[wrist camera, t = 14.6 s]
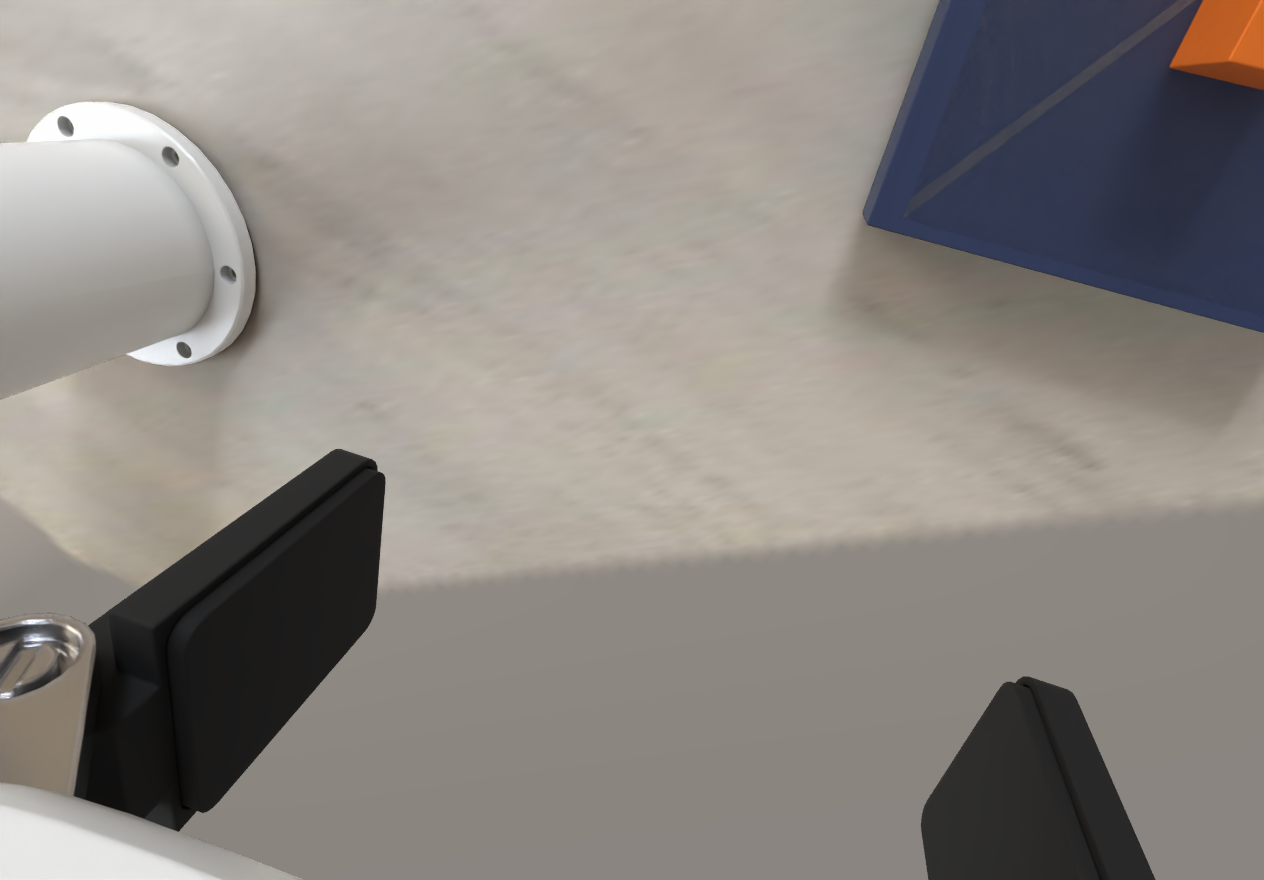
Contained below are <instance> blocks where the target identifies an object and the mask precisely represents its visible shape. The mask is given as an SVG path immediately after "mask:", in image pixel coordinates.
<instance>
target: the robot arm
mask: <svg viewBox="0 0 1264 880" xmlns="http://www.w3.org/2000/svg"><path fill="white" fill-rule="evenodd" d="M255 281H256V268H255V261H254V254H253V247H252V243H251V240H250V236H249V233H248V230H247V227H246V223H245V220H244V218H243V216H242V213H241V211H240V209H239V207H238V205H237V203H236V201H235V198H234V196H233V194H232V192H231V191H230V189H229V188H228V186H227V185H226V183H225V182H224V180H223V179H222V177H221V175H220V174H219V172H218V171H217V169H216V168H215V167H214V166H213V165H212V164H211V162H210V161H209V160H208V159H207V158H206V157H205V155H204V154H203V153H202V152H201V151H200V150H199V148H198V147H197V146H195V145H194V144H193V143H192V142H191V141H190V140H189V139H187V138H186V137H185V136H184V135H183V134H182V133H181V132H179V131H178V130H177V129H176V128H174V127H173V126H171V125H169V124H168V123H166V122H165V121H163V120H161V119H160V118H158V117H157V116H155V115H153V114H151V113H148V112H146V111H143V110H141V109H138V108H135V107H133V106H130V105H124V104H118V103H112V102H79V103H75V104H70V105H66V106H62V107H60V108H58V109H57V110H55V111H53V112H51V113H50V114H48V115H46V116H45V117H44V118H43V119H42V120H41V121H40V122H39V123H38V124H37V125H36V126H35V127H34V129H33V130H32V131H31V133H30V135H29V137H28V139H27V141H26V142H21V143H0V400H1V399H4V398H7V397H10V396H12V395H15V394H18V393H21V392H23V391H26V390H29V389H32V388H34V387H37V386H40V385H43V384H45V383H48V382H51V381H54V380H56V379H59V378H62V377H65V376H67V375H70V374H73V373H76V372H78V371H81V370H84V369H87V368H89V367H92V366H95V365H98V364H100V363H103V362H106V361H109V360H111V359H114V358H117V357H120V356H122V355H128V356H130V357H132V358H135V359H137V360H139V361H142V362H147V363H151V364H155V365H160V366H184V365H188V364H193V363H198V362H200V361H202V360H205V359H207V358H209V357H212V356H214V355H217V354H218V353H220V352H221V351H222V350H224V349H225V348H227V347H228V346H230V345H231V344H232V343H233V342H234V340H235V339H236V338H237V337H238V336H239V334H240V333H241V332H242V331H243V329H244V326H245V324H246V322H247V320H248V318H249V316H250V314H251V310H252V305H253V301H254V296H255ZM384 495H385V476H384V474H383V473H381V472H378V471H377V465H376V462H375V461H374V460H372V459H369V458H366V457H363V456H360V455H357V454H354V453H351V452H348V451H345V450H342V449H335V450H333V451H331V452H330V453H329V454H327V455H326V456H324V457H323V458H322V459H320V460H319V461H317V462H316V463H315V464H313V465H312V466H310V467H309V468H308V469H306V470H305V471H303V472H302V473H301V474H299V475H298V476H296V477H295V478H294V479H292V480H291V481H289V482H288V483H287V484H285V485H284V486H282V487H281V488H280V489H278V490H277V491H275V492H274V493H273V494H271V495H270V496H268V497H267V498H266V499H264V500H263V501H261V502H260V503H259V504H257V505H256V506H254V507H253V508H252V509H250V510H249V511H247V512H246V513H245V514H243V515H242V516H240V517H239V518H238V519H236V520H235V521H233V522H232V523H231V524H229V525H228V526H226V527H225V528H224V529H222V530H221V531H219V532H218V533H217V534H215V535H214V536H212V537H211V538H210V539H208V540H207V541H205V542H204V543H203V544H201V545H200V546H198V547H197V548H196V549H194V550H193V551H191V552H190V553H189V554H187V555H186V556H184V557H183V558H182V559H180V560H179V561H177V562H176V563H175V564H173V565H172V566H170V567H169V568H168V569H166V570H165V571H163V572H162V573H161V574H159V575H158V576H156V577H155V578H154V579H152V580H151V581H149V582H148V583H147V584H145V585H144V586H142V587H141V588H140V589H138V590H137V591H135V592H134V593H133V594H131V595H130V596H128V597H127V598H126V599H124V600H123V601H121V602H120V603H119V604H117V605H116V606H114V607H113V608H112V609H110V610H109V611H108V612H106V613H105V614H104V615H102V616H101V617H99V618H98V619H97V620H95V621H94V622H93V623H91V624H90V625H87V624H86V623H84V622H82V621H80V620H78V619H75V618H74V617H72V616H67V615H60V614H55V613H33V614H23V615H18V616H13V617H8V618H3V619H0V880H303V879H300V878H298V877H295V876H293V875H290V874H288V873H285V872H283V871H280V870H278V869H275V868H273V867H270V866H267V865H265V864H262V863H260V862H258V861H255V860H253V859H250V858H247V857H245V856H242V855H239V854H237V853H234V852H231V851H228V850H226V849H223V848H220V847H218V846H215V845H212V844H210V843H207V842H204V841H202V840H199V839H196V838H194V837H191V836H188V835H186V834H183V833H180V832H179V831H180V829H181V828H182V827H183V826H184V825H185V824H186V823H187V822H188V820H189V819H190V818H191V817H192V816H193V815H194V814H195V812H196V811H199V812H202V813H204V812H207V811H209V810H210V809H212V808H213V807H214V806H215V805H216V804H217V803H218V802H219V801H220V799H221V798H222V797H223V796H224V795H225V794H226V793H227V791H228V790H229V789H230V788H231V787H232V786H233V784H234V783H235V782H236V781H237V779H238V778H239V777H240V776H241V775H242V774H243V773H244V772H245V770H246V769H247V768H248V767H249V766H250V765H251V763H252V762H253V761H254V760H255V759H256V758H257V756H258V755H259V754H260V753H261V752H262V751H263V749H264V748H265V747H266V746H267V745H268V744H269V742H270V741H271V740H272V739H273V738H274V737H275V735H276V734H277V733H278V732H279V731H280V730H281V728H282V727H283V726H284V725H285V724H286V723H287V721H288V720H289V719H290V718H291V717H292V715H293V714H294V713H295V712H296V711H297V710H298V708H299V707H300V706H301V705H302V704H303V703H304V702H305V700H306V699H307V698H308V697H309V696H310V694H311V693H312V692H313V691H314V690H315V689H316V687H317V686H318V685H319V684H320V683H321V682H322V680H323V679H324V678H325V677H326V676H327V675H328V674H329V672H330V671H331V670H332V669H333V668H334V667H335V665H336V664H337V663H338V662H339V661H340V660H341V659H342V657H343V656H344V655H345V654H346V653H347V652H348V650H349V649H350V648H351V647H352V646H353V645H354V643H355V642H356V641H357V640H358V639H359V637H360V636H361V635H362V634H363V633H364V632H365V630H366V629H367V628H368V626H369V624H370V622H371V620H372V618H373V616H374V613H375V609H376V599H377V586H378V573H379V560H380V547H381V534H382V521H383V508H384ZM921 831H922V838H923V845H924V852H925V858H926V865H927V872H928V879H929V880H1155V878H1154V875H1153V873H1152V871H1151V869H1150V866H1149V864H1148V862H1147V859H1146V857H1145V855H1144V853H1143V850H1142V848H1141V846H1140V843H1139V841H1138V839H1137V837H1136V834H1135V832H1134V830H1133V827H1132V825H1131V823H1130V820H1129V819H1128V816H1127V814H1126V811H1125V809H1124V807H1123V804H1122V802H1121V800H1120V798H1119V795H1118V793H1117V791H1116V789H1115V786H1114V784H1113V782H1112V779H1111V777H1110V775H1109V773H1108V770H1107V768H1106V766H1105V763H1104V761H1103V759H1102V756H1101V754H1100V752H1099V750H1098V747H1097V745H1096V743H1095V740H1094V738H1093V736H1092V734H1091V731H1090V729H1089V727H1088V724H1087V722H1086V720H1085V717H1084V715H1083V713H1082V711H1081V708H1080V706H1079V704H1078V701H1077V699H1076V698H1075V696H1074V694H1073V693H1072V692H1071V691H1069V690H1067V689H1064V688H1061V687H1058V686H1055V685H1052V684H1049V683H1046V682H1043V681H1040V680H1037V679H1034V678H1031V677H1022V678H1020V679H1019V680H1018V681H1017V682H1016V683H1013V682H1006V683H1004V684H1003V685H1002V686H1001V687H1000V689H999V690H998V692H997V693H996V695H995V696H994V698H993V700H992V701H991V703H990V704H989V706H988V707H987V709H986V710H985V712H984V713H983V715H982V716H981V718H980V720H979V721H978V723H977V724H976V726H975V727H974V729H973V730H972V732H971V733H970V735H969V737H968V738H967V740H966V741H965V743H964V744H963V746H962V747H961V749H960V751H959V752H958V754H957V755H956V757H955V758H954V760H953V761H952V763H951V765H950V766H949V768H948V769H947V771H946V772H945V774H944V775H943V777H942V778H941V780H940V781H939V783H938V785H937V786H936V788H935V789H934V791H933V793H932V794H931V795H930V797H929V799H928V800H927V802H926V804H925V806H924V809H923V813H922V819H921Z"/></svg>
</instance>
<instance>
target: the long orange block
mask: <svg viewBox="0 0 1264 880" xmlns="http://www.w3.org/2000/svg"><path fill="white" fill-rule="evenodd" d="M1170 68H1171V69H1176V70H1180V71H1184V72H1188V73H1193V74H1197V75H1201V76H1205V77H1209V78H1214V79H1218V80H1222V81H1226V82H1230V83H1235V84H1239V85H1243V86H1247V87H1252V88H1256V89H1260V90H1264V0H1203V1H1202V3H1201V5H1200V7H1199V9H1198V11H1197V13H1196V15H1195V17H1194V19H1193V21H1192V23H1191V25H1190V27H1189V29H1188V31H1187V33H1186V35H1185V37H1184V39H1183V41H1182V43H1181V45H1180V46H1179V48H1178V50H1177V52H1176V54H1175V56H1174V58H1173V60H1172V62H1171V64H1170Z"/></svg>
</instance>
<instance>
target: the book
mask: <svg viewBox="0 0 1264 880" xmlns="http://www.w3.org/2000/svg"><path fill="white" fill-rule="evenodd" d="M1202 1H1203V0H940V1H939V4H938V7H937V10H936V12H935V15H934V18H933V21H932V23H931V26H930V29H929V32H928V34H927V37H926V40H925V43H924V45H923V48H922V51H921V53H920V56H919V59H918V62H917V64H916V67H915V70H914V73H913V75H912V78H911V81H910V84H909V86H908V89H907V92H906V95H905V97H904V100H903V103H902V106H901V108H900V111H899V114H898V116H897V119H896V122H895V125H894V127H893V130H892V133H891V136H890V138H889V141H888V144H887V147H886V149H885V152H884V155H883V158H882V160H881V163H880V166H879V169H878V171H877V174H876V177H875V179H874V182H873V185H872V188H871V190H870V193H869V196H868V199H867V201H866V204H865V207H864V210H863V215H864V218H865V220H866V223H867V224H868V225H870V226H873V227H877V228H880V229H884V230H888V231H891V232H895V233H899V234H902V235H906V236H910V237H913V238H917V239H921V240H924V241H928V242H932V243H935V244H939V245H943V246H946V247H950V248H954V249H958V250H961V251H965V252H969V253H972V254H976V255H980V256H983V257H987V258H991V259H994V260H998V261H1002V262H1005V263H1009V264H1013V265H1016V266H1020V267H1024V268H1027V269H1031V270H1035V271H1038V272H1042V273H1046V274H1049V275H1053V276H1057V277H1060V278H1064V279H1068V280H1071V281H1075V282H1079V283H1083V284H1086V285H1090V286H1094V287H1097V288H1101V289H1105V290H1108V291H1112V292H1116V293H1119V294H1123V295H1127V296H1130V297H1134V298H1138V299H1141V300H1145V301H1149V302H1152V303H1156V304H1160V305H1163V306H1167V307H1171V308H1174V309H1178V310H1182V311H1185V312H1189V313H1193V314H1196V315H1200V316H1204V317H1208V318H1211V319H1215V320H1219V321H1222V322H1226V323H1230V324H1233V325H1237V326H1241V327H1244V328H1248V329H1252V330H1255V331H1259V332H1263V333H1264V90H1260V89H1256V88H1252V87H1247V86H1243V85H1239V84H1235V83H1230V82H1226V81H1222V80H1218V79H1214V78H1209V77H1205V76H1201V75H1197V74H1193V73H1188V72H1184V71H1180V70H1176V69H1171V68H1170V64H1171V62H1172V60H1173V58H1174V56H1175V54H1176V52H1177V50H1178V48H1179V46H1180V45H1181V43H1182V41H1183V39H1184V37H1185V35H1186V33H1187V31H1188V29H1189V27H1190V25H1191V23H1192V21H1193V19H1194V17H1195V15H1196V13H1197V11H1198V9H1199V7H1200V5H1201V3H1202Z"/></svg>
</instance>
